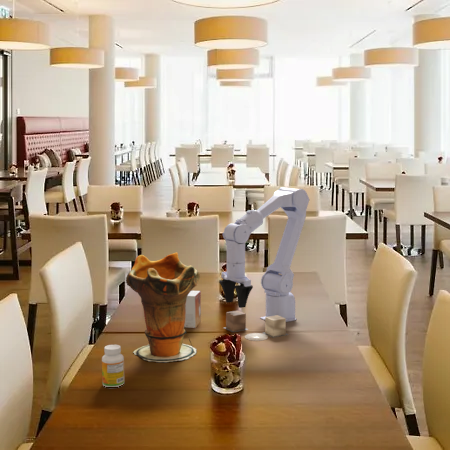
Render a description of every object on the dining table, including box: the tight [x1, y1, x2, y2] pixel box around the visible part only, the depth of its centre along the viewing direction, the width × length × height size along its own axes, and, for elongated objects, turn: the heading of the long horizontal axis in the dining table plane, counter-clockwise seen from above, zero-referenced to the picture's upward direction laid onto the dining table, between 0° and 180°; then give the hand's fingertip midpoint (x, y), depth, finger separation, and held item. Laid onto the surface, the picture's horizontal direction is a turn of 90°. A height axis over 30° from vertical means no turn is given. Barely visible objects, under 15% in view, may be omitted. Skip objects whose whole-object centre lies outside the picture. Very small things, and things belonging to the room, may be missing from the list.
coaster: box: [244, 332, 269, 342], centre depth 210 cm, size 7×7×1 cm
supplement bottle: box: [101, 344, 125, 388], centre depth 172 cm, size 5×5×10 cm
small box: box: [184, 290, 202, 329], centre depth 224 cm, size 8×6×10 cm
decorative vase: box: [125, 251, 201, 363], centre depth 195 cm, size 21×23×28 cm
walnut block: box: [225, 310, 247, 332], centre depth 219 cm, size 4×4×5 cm
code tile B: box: [262, 331, 289, 339], centre depth 214 cm, size 6×6×1 cm
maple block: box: [264, 315, 287, 338], centre depth 214 cm, size 4×4×5 cm
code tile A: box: [223, 326, 250, 333], centre depth 220 cm, size 6×6×1 cm
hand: (235, 304), depth 218 cm, fingers open, 7 cm apart
